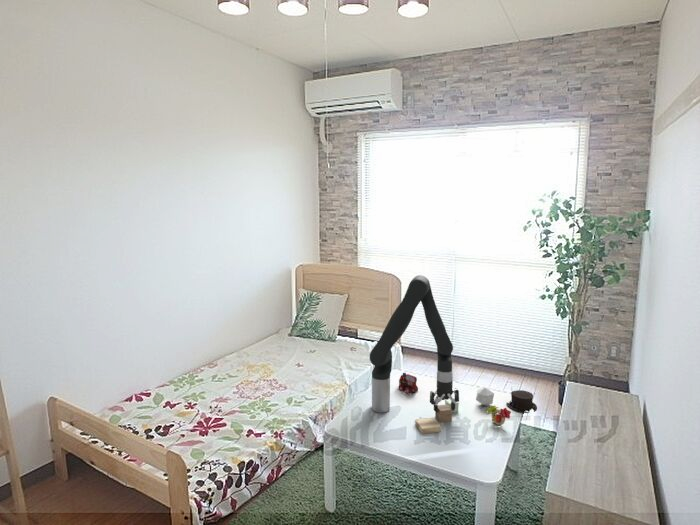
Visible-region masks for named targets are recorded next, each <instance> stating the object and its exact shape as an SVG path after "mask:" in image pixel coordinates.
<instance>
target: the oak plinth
mask: <svg viewBox="0 0 700 525" xmlns="http://www.w3.org/2000/svg"><path fill="white" fill-rule="evenodd" d="M414 424H415V427H416V428H417V429H418V431H419V432H420V433H421V434H422V435H425V434H433V433H440V432H441V430H442V428H441V425H440V424H439V423H438V422H437V420H436V419H435V418H434V417H429V418H427V417H426V418H419V419H415V423H414Z"/></svg>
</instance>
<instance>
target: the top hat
mask: <svg viewBox="0 0 700 525" xmlns="http://www.w3.org/2000/svg"><path fill="white" fill-rule="evenodd" d="M510 394H511V395H510V398H511V400H510V401H509V402H506V404H505V405H506V407H509V408H510V409H512V410H514V411H517V412H520V413H523V414H530V411H532V410H533V413H534V412H536V411H537V410H538V406H537V404H536V403H534V402H533V400H534V394H533V393H532V392H530V391H528V390H523V389H522V390H519V389H518V390H513V388H512V386H511V392H510Z"/></svg>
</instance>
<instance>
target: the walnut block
mask: <svg viewBox="0 0 700 525" xmlns="http://www.w3.org/2000/svg"><path fill="white" fill-rule="evenodd" d="M437 405H438V412H437V413H436V412H435V411H434V412H435V413H434V414H435V416H434V417H435V418H436V419H437V421H438V422H439V423H446V422H447V423H449V422H453V421H452V419H453V413H452V409H451V408H450V407H449V406H448V405H447V404H445V403H444V404H437Z"/></svg>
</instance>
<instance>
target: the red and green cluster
mask: <svg viewBox="0 0 700 525" xmlns="http://www.w3.org/2000/svg"><path fill="white" fill-rule="evenodd" d="M486 412H487V413H486V415H489V414H490V413H491V421H492V422H494V424H496V425H497V426H502V425H504V424H505V422H506V419H510V418H511V414H512V411H511V410H508V409H507V407H504V408H500V409H499V406H496V405H490V407H488V408H486Z"/></svg>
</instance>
